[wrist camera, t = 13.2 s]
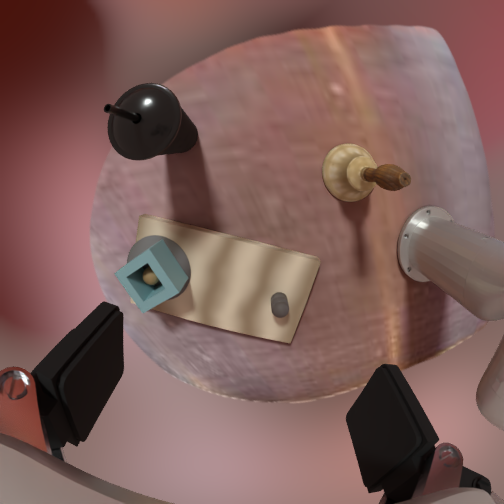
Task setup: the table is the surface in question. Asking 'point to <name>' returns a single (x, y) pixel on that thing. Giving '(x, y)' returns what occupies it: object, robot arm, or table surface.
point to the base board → (230, 279)
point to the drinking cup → (149, 123)
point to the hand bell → (359, 173)
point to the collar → (163, 269)
